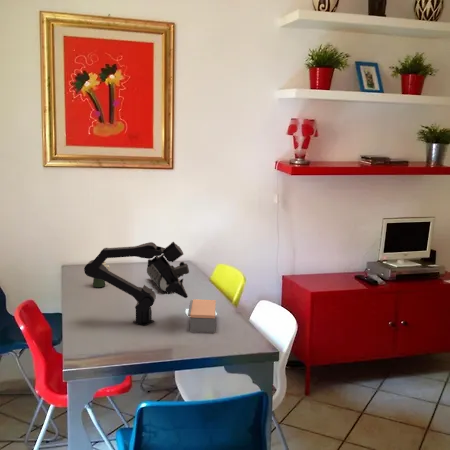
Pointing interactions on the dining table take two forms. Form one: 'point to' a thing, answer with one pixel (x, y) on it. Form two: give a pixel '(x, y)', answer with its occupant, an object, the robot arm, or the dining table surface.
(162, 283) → the muzzle brake
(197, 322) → the cable box
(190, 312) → the lid
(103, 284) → the trophy cup
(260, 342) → the dining table surface
